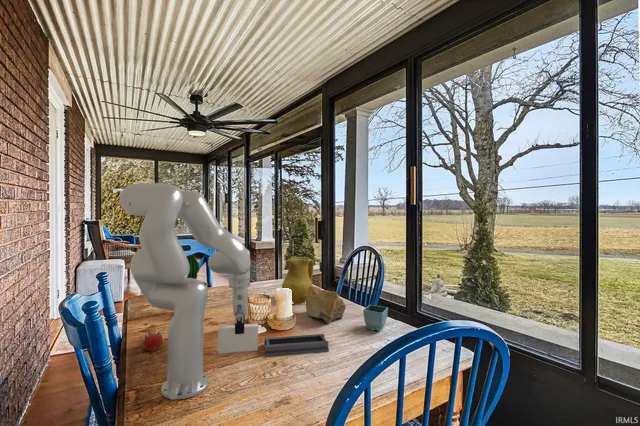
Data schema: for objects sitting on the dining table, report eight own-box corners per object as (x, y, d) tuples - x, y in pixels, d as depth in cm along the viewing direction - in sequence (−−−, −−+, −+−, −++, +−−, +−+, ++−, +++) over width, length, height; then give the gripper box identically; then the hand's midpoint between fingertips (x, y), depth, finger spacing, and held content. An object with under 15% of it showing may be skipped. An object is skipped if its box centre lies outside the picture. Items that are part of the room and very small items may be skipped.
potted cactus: (208, 319, 148) (208, 255, 148) (171, 323, 142) (172, 256, 142) (206, 309, 162) (207, 250, 162) (173, 312, 157) (174, 251, 156)
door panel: (257, 350, 116) (258, 326, 116) (218, 353, 113) (218, 328, 113) (257, 346, 120) (257, 322, 120) (219, 349, 117) (219, 325, 117)
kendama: (138, 341, 125) (139, 353, 110) (142, 325, 127) (142, 334, 111) (160, 341, 129) (163, 353, 114) (163, 325, 130) (166, 334, 115)
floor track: (328, 351, 116) (328, 343, 116) (265, 356, 111) (265, 348, 111) (322, 340, 126) (322, 332, 126) (264, 344, 121) (264, 336, 121)
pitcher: (278, 297, 184) (281, 254, 183) (309, 297, 189) (312, 255, 189) (283, 307, 168) (287, 260, 167) (317, 306, 173) (320, 261, 172)
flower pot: (362, 330, 137) (362, 309, 137) (369, 323, 145) (369, 304, 145) (382, 334, 133) (382, 313, 133) (387, 327, 141) (388, 307, 141)
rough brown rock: (356, 325, 146) (358, 292, 147) (325, 327, 138) (327, 293, 139) (330, 312, 166) (332, 283, 167) (302, 313, 158) (304, 283, 159)
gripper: (250, 288, 109) (250, 337, 109) (250, 276, 125) (250, 318, 126) (227, 289, 107) (227, 339, 108) (230, 277, 124) (231, 320, 125)
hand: (240, 328), depth 117 cm, fingers open, 9 cm apart
